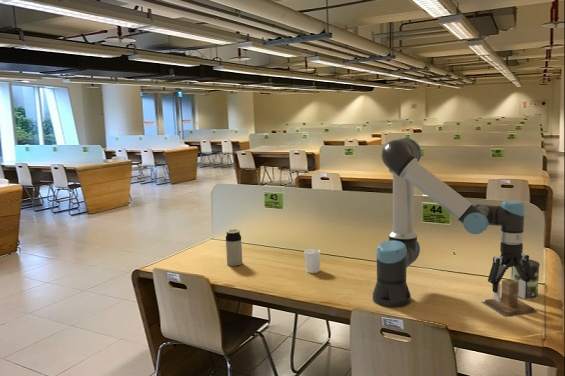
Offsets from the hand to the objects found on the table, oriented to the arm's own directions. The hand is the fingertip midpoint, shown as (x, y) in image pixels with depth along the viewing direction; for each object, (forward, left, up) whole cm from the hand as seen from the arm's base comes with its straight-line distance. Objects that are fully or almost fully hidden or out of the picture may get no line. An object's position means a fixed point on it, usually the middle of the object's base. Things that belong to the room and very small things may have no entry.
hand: (509, 298), depth 177 cm
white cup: (-60, +64, -4) cm, 88 cm away
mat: (0, 0, -4) cm, 4 cm away
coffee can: (+14, +9, -4) cm, 17 cm away
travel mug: (-96, +87, -4) cm, 130 cm away
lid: (0, 0, -3) cm, 3 cm away
